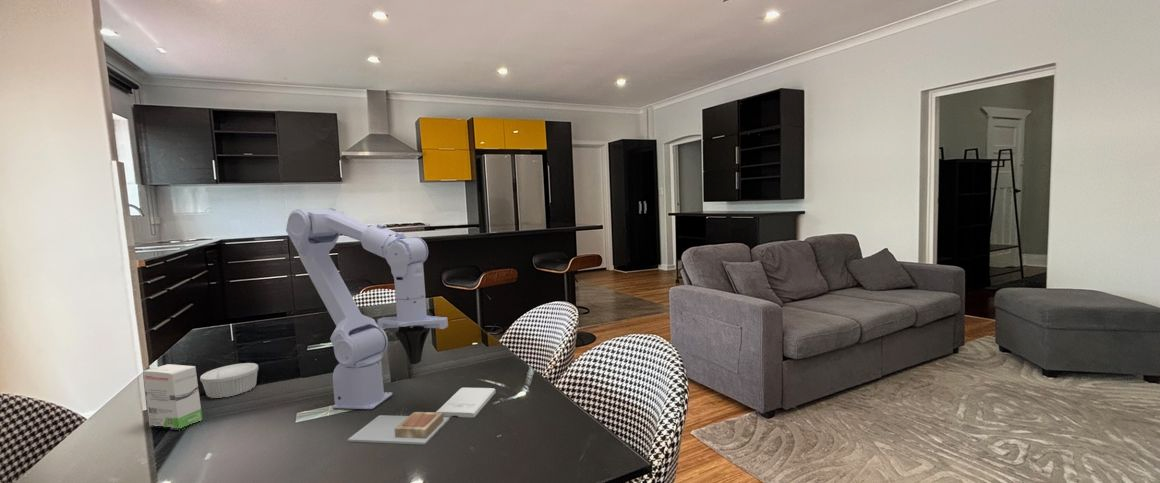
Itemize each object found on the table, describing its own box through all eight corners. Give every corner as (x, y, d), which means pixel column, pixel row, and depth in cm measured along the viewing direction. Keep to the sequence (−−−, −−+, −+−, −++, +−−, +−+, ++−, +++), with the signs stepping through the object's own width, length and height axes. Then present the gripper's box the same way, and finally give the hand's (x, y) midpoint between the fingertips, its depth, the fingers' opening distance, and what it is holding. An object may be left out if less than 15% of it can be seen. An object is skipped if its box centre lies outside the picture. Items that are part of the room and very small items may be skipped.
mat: (347, 441, 88) (347, 439, 88) (379, 417, 98) (379, 415, 98) (425, 444, 85) (424, 442, 85) (449, 419, 95) (449, 417, 95)
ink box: (203, 421, 100) (197, 365, 99) (177, 432, 95) (171, 373, 94) (174, 417, 103) (168, 362, 102) (147, 427, 98) (140, 370, 97)
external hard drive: (495, 395, 108) (474, 420, 96) (460, 394, 109) (435, 418, 97) (495, 388, 108) (473, 412, 95) (460, 387, 109) (434, 410, 97)
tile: (394, 428, 88) (425, 429, 87) (414, 411, 95) (442, 412, 94) (395, 437, 88) (426, 438, 87) (414, 419, 95) (443, 420, 94)
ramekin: (191, 398, 113) (188, 376, 113) (240, 381, 124) (238, 361, 123) (222, 403, 109) (220, 380, 109) (270, 385, 119) (268, 364, 119)
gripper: (366, 301, 96) (371, 368, 97) (434, 300, 93) (439, 369, 95) (386, 294, 103) (391, 357, 104) (450, 293, 100) (455, 358, 101)
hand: (415, 362), depth 100 cm, fingers closed
